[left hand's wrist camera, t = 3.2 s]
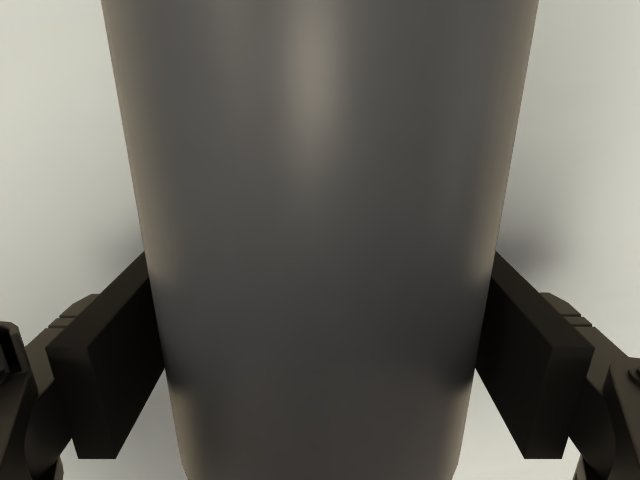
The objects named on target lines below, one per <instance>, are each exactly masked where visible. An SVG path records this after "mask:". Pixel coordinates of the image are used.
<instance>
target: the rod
mask: <svg viewBox="0 0 640 480" xmlns="http://www.w3.org/2000/svg"><path fill="white" fill-rule="evenodd" d="M538 2H539V0H101V3H102V9H103V14H104V20H105V26H106V32H107V37H108V43H109V49H110V55H111V60H112V66H113V72H114V78H115V83H116V89H117V95H118V101H119V106H120V112H121V118H122V124H123V129H124V135H125V141H126V147H127V152H128V158H129V164H130V170H131V175H132V181H133V187H134V193H135V198H136V204H137V210H138V216H139V221H140V227H141V233H142V239H143V244H144V250H145V256H146V262H147V267H148V273H149V279H150V285H151V290H152V296H153V302H154V308H155V313H156V319H157V325H158V331H159V336H160V342H161V348H162V354H163V359H164V365H165V371H166V377H167V382H168V388H169V394H170V400H171V405H172V411H173V417H174V423H175V428H176V434H177V440H178V446H179V451H180V456H181V461H182V465H183V468H184V470H185V473H186V475H187V478H188V480H452V477H453V475H454V472H455V470H456V467H457V465H458V460H459V455H460V450H461V445H462V439H463V433H464V428H465V422H466V416H467V410H468V405H469V399H470V393H471V387H472V382H473V376H474V370H475V364H476V359H477V353H478V347H479V341H480V336H481V330H482V324H483V318H484V313H485V307H486V301H487V295H488V290H489V284H490V278H491V272H492V267H493V261H494V255H495V249H496V244H497V238H498V232H499V226H500V221H501V215H502V209H503V203H504V198H505V192H506V186H507V180H508V175H509V169H510V163H511V157H512V151H513V146H514V140H515V134H516V128H517V123H518V117H519V111H520V105H521V100H522V94H523V88H524V82H525V77H526V71H527V65H528V59H529V54H530V48H531V42H532V36H533V31H534V25H535V19H536V13H537V8H538Z"/></svg>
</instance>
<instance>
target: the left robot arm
mask: <svg viewBox="0 0 640 480" xmlns="http://www.w3.org/2000/svg"><path fill="white" fill-rule="evenodd" d="M164 368H165V365H164V359H163V354H162V348H161V342H160V336H159V331H158V325H157V319H156V313H155V308H154V302H153V296H152V290H151V285H150V279H149V273H148V267H147V262H146V256H145V251H144V252H143V253H142V254H141V255H140V256H139V257H138V258H137V259H135V260H134V261H133V262H132V263H131V264H130V265H129V266H128V267H127V268H126V269H125V270H124V271H123V272H122V273H121V274H120V275H119V276H118V277H117V278H116V279H115V280H114V281H113V282H112V283H111V284H110V285H109V286H108V287H107V288H106V289H105V290H104V291H103V292H101V293H100V294H91V295H89V296H87V297H85V298H83V299H81V300H79V301H77V302H76V303H74V304H72V305H71V306H70V307H69V308H68V309H67V310H65V311H64V312H63V313H62V314H61V315H60V316H59V318H57V319H56V320H54V321H53V322H52V323H51V324H50V325H49V326H48V328H46V329H44V330H43V331H42V332H41V333H40V334H39V335H38V336H37V337H36V338H34V339H33V340H32V341H31V342H30V343H29V344H28V345H27V346H26V347H24V344H23V341H22V338H21V335H20V332H19V329H18V326H16V325H14V324H13V323H11V322H2V321H0V480H63V474H64V472H63V465H62V461H61V458H60V454H61V453H62V451H63V450H64V448H65V447H66V445H67V444H68V443H69V441H70V440H71V438H72V440H73V443H74V446H75V450H76V453H77V456H78V459H116V457H117V455H118V453H119V451H120V450H121V448H122V446H123V444H124V442H125V440H126V439H127V437H128V435H129V433H130V431H131V429H132V427H133V426H134V424H135V422H136V420H137V418H138V416H139V414H140V413H141V411H142V409H143V407H144V405H145V403H146V402H147V400H148V398H149V396H150V394H151V392H152V390H153V389H154V387H155V385H156V383H157V381H158V379H159V377H160V376H161V374H162V372H163V370H164ZM475 368H476V370H477V372H478V374H479V376H480V377H481V379H482V381H483V383H484V385H485V387H486V389H487V390H488V392H489V394H490V396H491V398H492V400H493V402H494V403H495V405H496V407H497V409H498V411H499V413H500V414H501V416H502V418H503V420H504V422H505V424H506V426H507V427H508V429H509V431H510V433H511V435H512V437H513V439H514V440H515V442H516V444H517V446H518V448H519V450H520V452H521V453H522V455H523V457H524V459H562V456H563V453H564V450H565V446H566V443H567V440H568V436H569V437H570V439H571V440H572V442H573V443H574V445H575V446H576V447H577V449H578V450H579V452H580V453H581V455H580V458H579V461H578V464H577V468H576V471H575V474H574V477H573V480H640V358H632V357H628V356H627V355H626V354H625V353H623V352H622V351H621V350H620V349H619V348H618V347H617V346H616V345H614V344H613V343H612V342H611V341H610V340H609V339H608V338H607V337H606V336H604V335H603V334H602V333H601V332H600V331H599V330H598V329H597V328H596V327H592V324H591V323H590V322H589V321H588V320H587V319H585V318H584V317H581V314H580V313H579V312H578V311H577V310H575V309H574V308H573V307H572V306H571V305H570V304H569V303H567V302H566V301H564V300H562V299H560V298H558V297H556V296H554V295H552V294H550V293H538V292H537V291H536V290H535V289H534V288H533V287H532V286H531V285H530V284H529V283H528V282H527V281H526V280H525V279H524V278H523V277H522V276H521V275H520V274H519V273H518V272H517V271H516V270H515V269H514V268H513V267H512V266H511V265H510V264H509V263H508V262H507V261H506V260H504V259H503V258H502V257H501V256H500V255H499V254H498V253H497V252H496V251H495V255H494V261H493V267H492V272H491V278H490V284H489V290H488V295H487V301H486V307H485V313H484V318H483V324H482V330H481V336H480V341H479V347H478V353H477V359H476V364H475Z"/></svg>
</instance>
